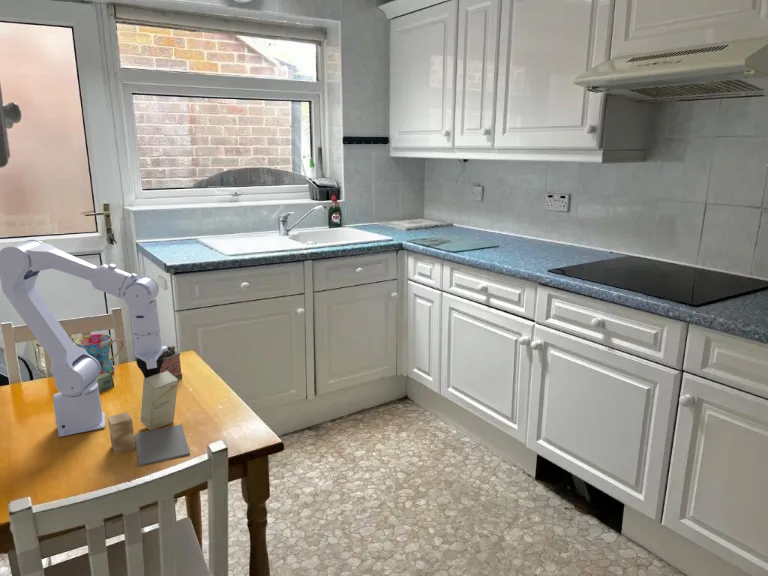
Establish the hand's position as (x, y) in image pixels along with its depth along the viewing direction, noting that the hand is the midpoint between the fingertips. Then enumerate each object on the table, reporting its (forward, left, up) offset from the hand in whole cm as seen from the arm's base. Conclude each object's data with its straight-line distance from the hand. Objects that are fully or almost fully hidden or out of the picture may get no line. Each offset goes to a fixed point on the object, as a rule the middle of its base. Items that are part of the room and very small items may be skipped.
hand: (153, 387), depth 132 cm
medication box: (-14, +25, -9) cm, 30 cm away
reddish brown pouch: (+5, +24, -9) cm, 26 cm away
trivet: (0, -11, -9) cm, 14 cm away
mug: (-11, +38, -9) cm, 41 cm away
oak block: (-8, -9, -9) cm, 15 cm away
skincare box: (0, -1, -8) cm, 9 cm away
